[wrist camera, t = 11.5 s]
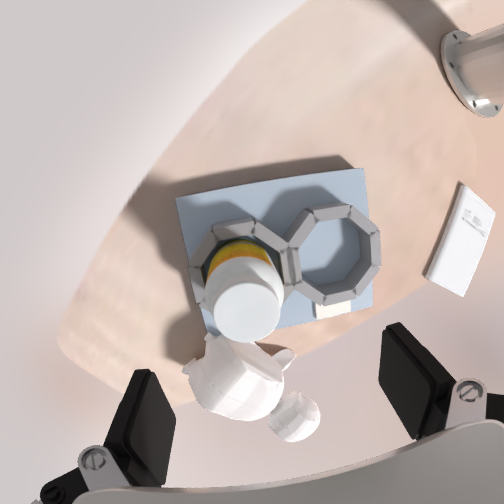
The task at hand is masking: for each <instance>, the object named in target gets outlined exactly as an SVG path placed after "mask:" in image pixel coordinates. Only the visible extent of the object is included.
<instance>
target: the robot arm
mask: <svg viewBox="0 0 504 504" xmlns="http://www.w3.org/2000/svg"><path fill="white" fill-rule="evenodd" d="M441 59H442V63H443V67H444V70H445V73H446V76H447V78H448V80H449V82H450V84H451V86H452V88H453V90H454V91H455V93H456V95H457V96H458V97H459V99H460V100H461V101H462V103H463V104H464V105H465V106H466V107H467V108H468V109H469V110H470V111H471V112H473V113H474V114H476V115H477V116H480V117H483V118H490V117H495V116H496V115H497V114H498V113H499V112H500V111H501V108H502V106H503V104H504V24H501V25H498V26H495V27H493V28H490V29H487V30H485V31H482V32H480V33H477V34H475V35H472V36H471V35H470V34H468V33H466V32H463V31H459V30H457V31H452V32H450V33H448V34H446V35H445V36H444V38H443V39H442V43H441ZM378 379H379V384H380V386H381V388H382V390H383V391H384V393H385V395H386V396H387V398H388V400H389V401H390V403H391V404H392V406H393V408H394V409H395V411H396V413H397V415H398V416H399V418H400V420H401V421H402V423H403V425H404V427H405V428H406V430H407V432H408V434H409V435H410V437H411V438H412V439H416V440H417V441H416V442H414V443H411V444H409V445H406V446H404V447H401V448H399V449H396V450H393V451H390V452H388V453H385V454H382V455H380V456H377V457H374V458H371V459H368V460H365V461H362V462H358V463H355V464H352V465H348V466H345V467H341V468H337V469H333V470H329V471H325V472H321V473H317V474H312V475H308V476H303V477H298V478H293V479H287V480H281V481H275V482H268V483H260V484H251V485H241V486H229V487H211V488H162V487H161V485H164V484H165V482H166V476H167V470H168V464H169V458H170V452H171V447H172V441H173V436H174V430H175V425H176V417H175V414H174V412H173V410H172V408H171V406H170V404H169V402H168V400H167V398H166V396H165V394H164V392H163V390H162V388H161V385H160V383H159V381H158V379H157V377H156V374H155V373H154V372H151V371H150V370H149V369H137V370H135V371H134V373H133V375H132V378H131V380H130V382H129V385H128V387H127V390H126V392H125V394H124V397H123V399H122V401H121V402H120V404H119V406H118V409H117V412H116V414H115V416H114V419H113V421H112V424H111V426H110V429H109V432H108V434H107V437H106V439H105V442H104V444H103V446H100V445H93V446H90V447H88V448H86V449H84V450H83V451H82V452H81V454H80V455H79V457H78V466H79V467H77V468H76V469H74V470H72V471H70V472H68V473H66V474H64V475H62V476H60V477H58V478H56V479H54V480H52V481H50V482H48V483H47V484H45V485H44V486H43V488H42V489H41V492H40V498H41V500H40V501H38V500H35V501H34V502H32V503H31V504H504V395H499V394H491V393H487V390H486V387H485V385H484V384H483V383H482V382H481V381H479V380H477V379H474V378H465V379H461V380H459V381H458V382H456V381H455V379H454V378H453V377H452V376H451V375H450V374H449V373H448V372H447V370H446V369H445V368H444V367H443V366H442V365H441V364H440V363H439V362H438V360H436V358H435V357H434V356H433V355H432V354H431V353H430V352H429V351H428V350H427V349H426V348H425V347H424V346H422V345H421V344H420V343H419V341H418V340H417V339H416V338H415V337H414V336H413V335H412V334H411V333H410V332H409V331H408V330H407V329H406V328H405V327H404V326H403V325H402V324H401V323H400V322H397V323H394V324H391V325H388V326H386V329H385V330H383V332H382V345H381V357H380V368H379V378H378Z"/></svg>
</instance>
